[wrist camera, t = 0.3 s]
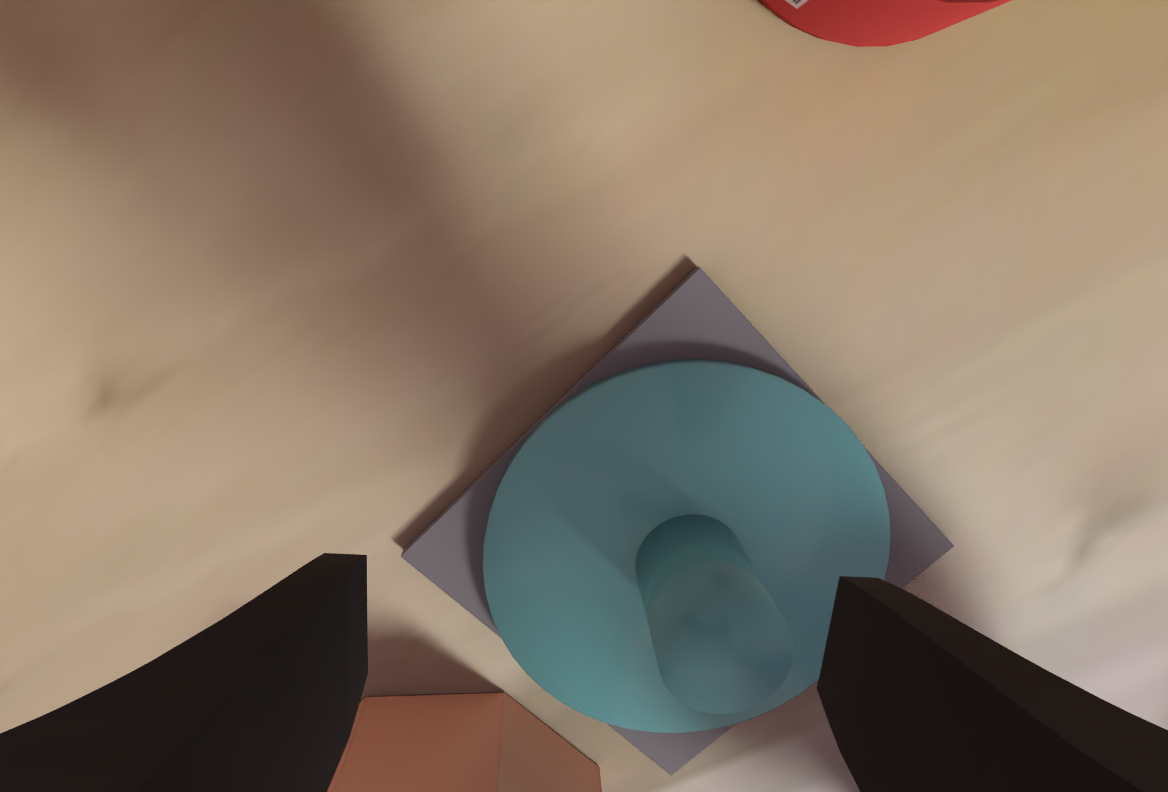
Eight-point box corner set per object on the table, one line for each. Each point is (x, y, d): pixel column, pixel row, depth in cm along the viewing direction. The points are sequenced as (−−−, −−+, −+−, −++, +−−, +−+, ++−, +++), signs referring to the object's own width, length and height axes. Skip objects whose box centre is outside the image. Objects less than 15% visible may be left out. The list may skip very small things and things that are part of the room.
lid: (953, 545, 21) (1074, 647, 16) (670, 775, 23) (704, 927, 18) (699, 267, 18) (755, 292, 13) (400, 556, 20) (356, 667, 15)
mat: (947, 539, 21) (954, 545, 21) (669, 766, 23) (671, 775, 23) (696, 266, 19) (700, 268, 18) (403, 549, 20) (400, 556, 20)
